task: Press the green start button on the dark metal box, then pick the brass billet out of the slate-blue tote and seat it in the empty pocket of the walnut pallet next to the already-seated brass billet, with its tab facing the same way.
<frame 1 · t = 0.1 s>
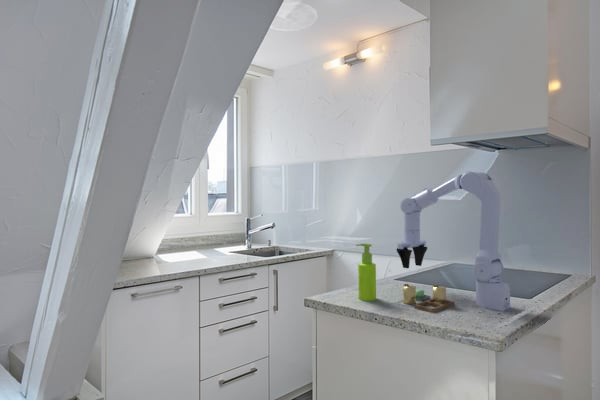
hand: (412, 266, 146), 10 cm above the counter, tool pointing down, fingers open, 7 cm apart
billet: (409, 305, 128), resting on tote
start button: (419, 294, 134), point 3 cm above the counter, slide at 0.0 cm
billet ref: (439, 306, 126), point 1 cm above the counter, touching pallet board
pallet board: (434, 310, 124), on the counter
button housing: (419, 302, 134), on the counter
tote: (409, 306, 128), on the counter
soap dispenser: (366, 302, 135), on the counter
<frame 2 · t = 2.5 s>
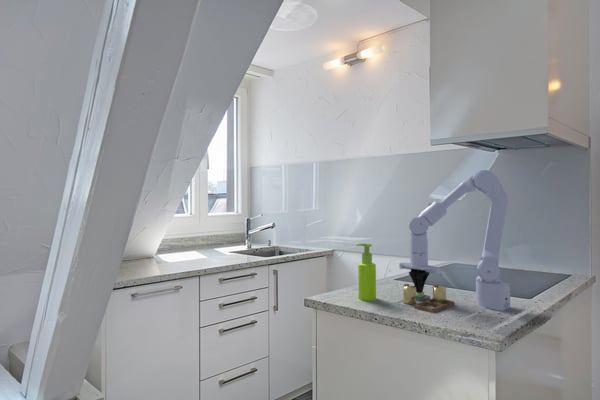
hand: (419, 292, 134), 3 cm above the counter, tool pointing down, fingers closed, pressing on start button
start button: (419, 296, 134), point 2 cm above the counter, slide at 0.5 cm, touching gripper
everything else where it was.
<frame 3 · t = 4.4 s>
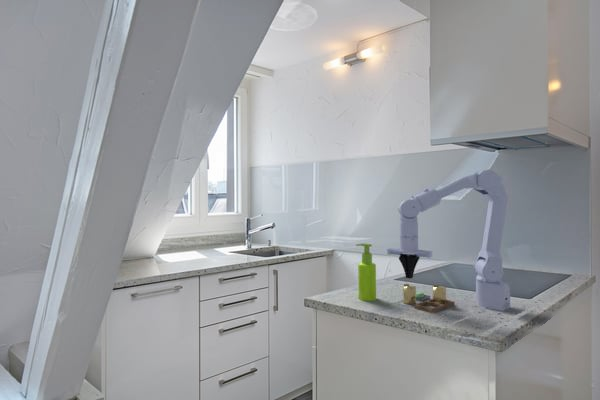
hand: (409, 277, 128), 9 cm above the counter, tool pointing down, fingers closed
start button: (419, 297, 134), point 2 cm above the counter, slide at 0.9 cm
everything else where it was.
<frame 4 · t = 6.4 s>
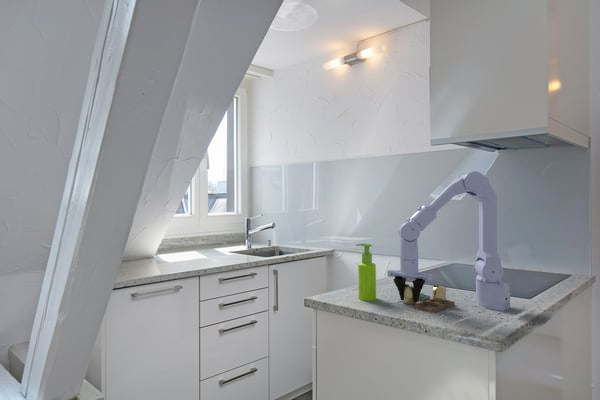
hand: (409, 300, 128), 2 cm above the counter, tool pointing down, fingers closed on billet, 4 cm apart
billet: (409, 304, 128), point 1 cm above the counter, touching gripper, tote
everything else where it was.
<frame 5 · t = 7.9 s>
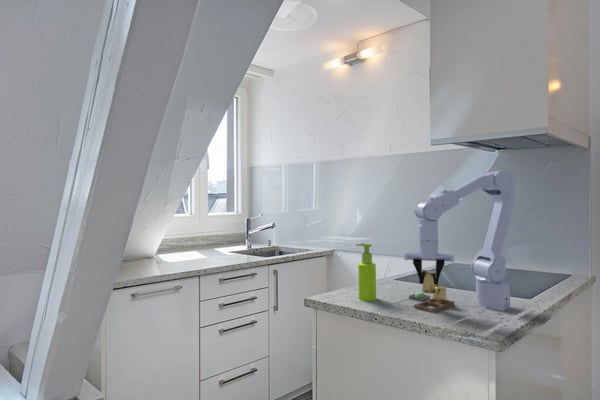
hand: (429, 283, 122), 9 cm above the counter, tool pointing down, fingers closed on billet, 4 cm apart
billet: (429, 291, 122), point 6 cm above the counter, touching gripper
everything else where it was.
when the fingers open (3 cm above the counter, at t = 9.6 s): billet stays where it is, resting on pallet board.
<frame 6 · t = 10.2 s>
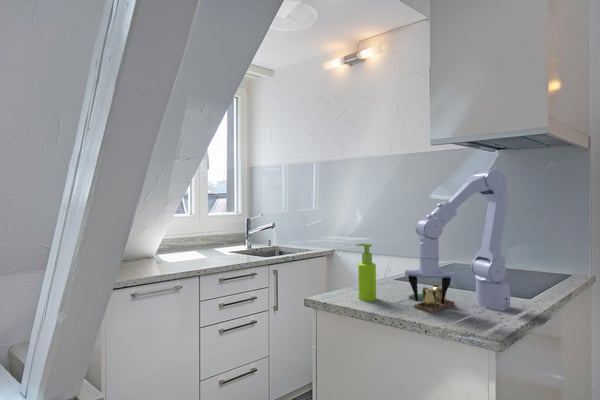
hand: (429, 301, 122), 3 cm above the counter, tool pointing down, fingers open, 7 cm apart
billet: (429, 309, 122), point 1 cm above the counter, touching pallet board
everything else where it was.
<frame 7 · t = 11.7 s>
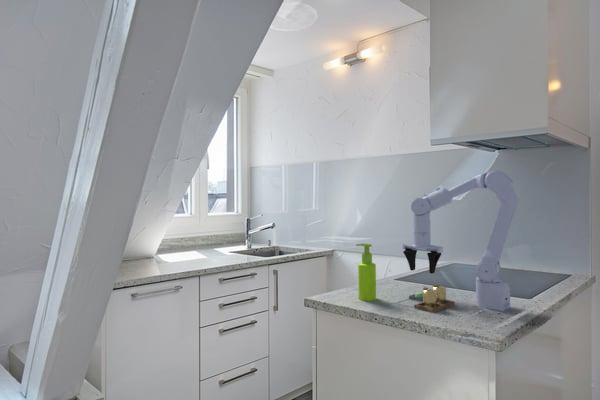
hand: (422, 271, 137), 10 cm above the counter, tool pointing down, fingers open, 7 cm apart
nothing on the counter moved.
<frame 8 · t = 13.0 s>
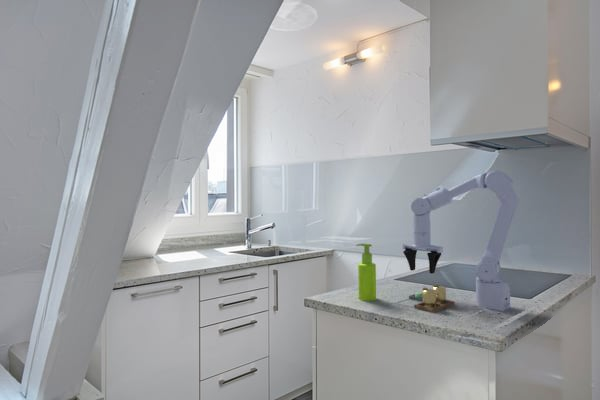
hand: (422, 271, 137), 10 cm above the counter, tool pointing down, fingers open, 7 cm apart
nothing on the counter moved.
at the end: billet 0.0 cm from the target spot on the pallet board, point 0.8 cm above the pallet board's base; billet tilted 1°; start button slide at 0.9 cm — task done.
